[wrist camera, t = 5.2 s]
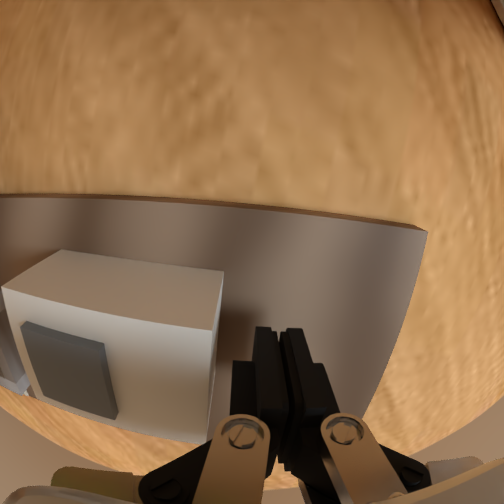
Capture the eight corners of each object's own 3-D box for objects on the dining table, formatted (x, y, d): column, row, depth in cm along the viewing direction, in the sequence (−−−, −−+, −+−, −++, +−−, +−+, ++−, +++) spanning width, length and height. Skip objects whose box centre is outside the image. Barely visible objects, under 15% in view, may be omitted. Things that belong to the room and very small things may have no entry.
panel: (413, 225, 12) (448, 241, 9) (344, 428, 15) (355, 460, 13) (-62, 197, 10) (-88, 205, 8) (-26, 355, 14) (-43, 372, 12)
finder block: (223, 271, 11) (210, 340, 6) (214, 374, 12) (204, 453, 8) (61, 249, 10) (-7, 291, 6) (75, 346, 12) (32, 404, 8)
